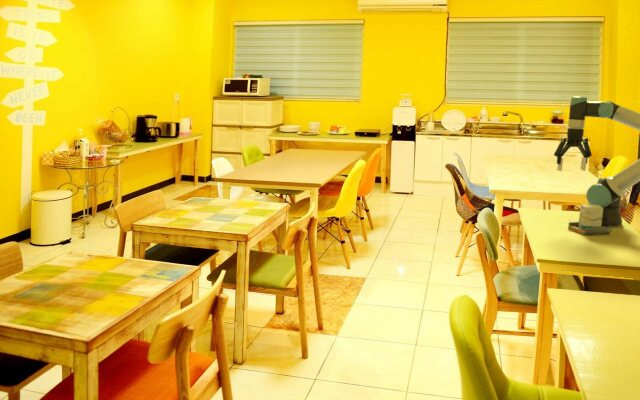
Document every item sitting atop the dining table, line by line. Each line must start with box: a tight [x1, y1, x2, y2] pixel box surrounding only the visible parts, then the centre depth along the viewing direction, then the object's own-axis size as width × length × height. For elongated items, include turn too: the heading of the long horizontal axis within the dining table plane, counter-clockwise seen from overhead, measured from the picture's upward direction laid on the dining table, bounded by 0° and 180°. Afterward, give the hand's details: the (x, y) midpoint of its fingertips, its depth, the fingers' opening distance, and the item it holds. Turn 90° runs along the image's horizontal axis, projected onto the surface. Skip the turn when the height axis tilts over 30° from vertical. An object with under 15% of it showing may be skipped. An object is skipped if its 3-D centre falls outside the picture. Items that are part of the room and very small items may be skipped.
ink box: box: [578, 203, 603, 230], centre depth 299 cm, size 9×8×12 cm
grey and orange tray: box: [567, 221, 611, 237], centre depth 300 cm, size 13×13×4 cm
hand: (571, 170), depth 315 cm, fingers open, 13 cm apart
